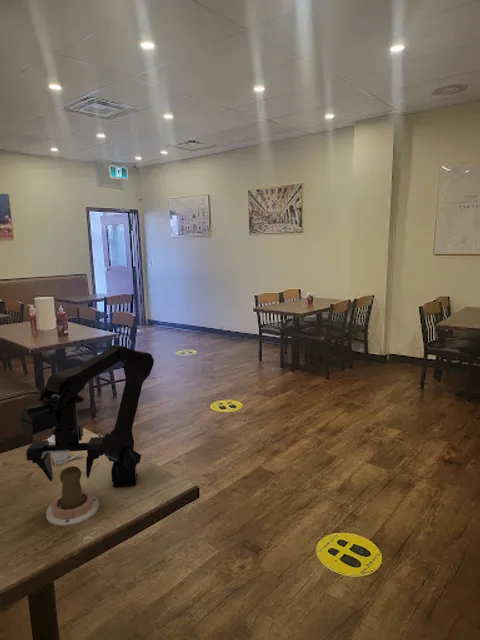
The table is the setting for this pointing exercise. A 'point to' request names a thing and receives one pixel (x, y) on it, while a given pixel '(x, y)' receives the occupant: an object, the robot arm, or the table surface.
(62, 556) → the table surface
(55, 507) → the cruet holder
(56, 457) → the cup
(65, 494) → the brown peg
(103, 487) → the table surface
